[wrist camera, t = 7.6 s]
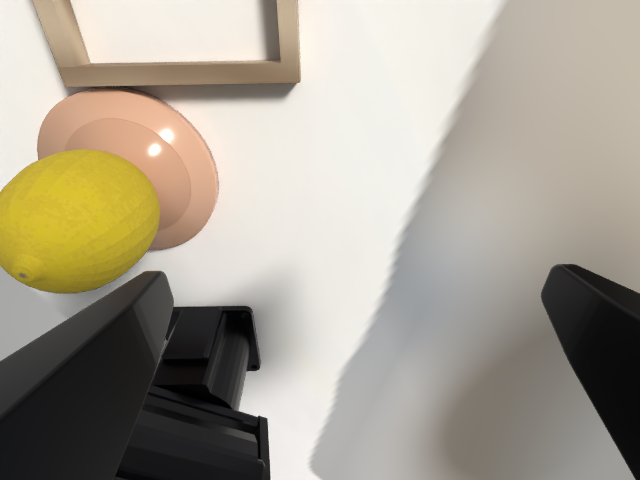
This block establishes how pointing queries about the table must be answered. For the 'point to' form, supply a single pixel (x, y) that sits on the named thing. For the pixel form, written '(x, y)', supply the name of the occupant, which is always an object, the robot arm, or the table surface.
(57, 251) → the lemon
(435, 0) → the table surface
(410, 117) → the table surface
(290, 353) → the table surface
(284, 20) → the wooden picture frame
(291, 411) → the table surface
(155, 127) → the saucer
